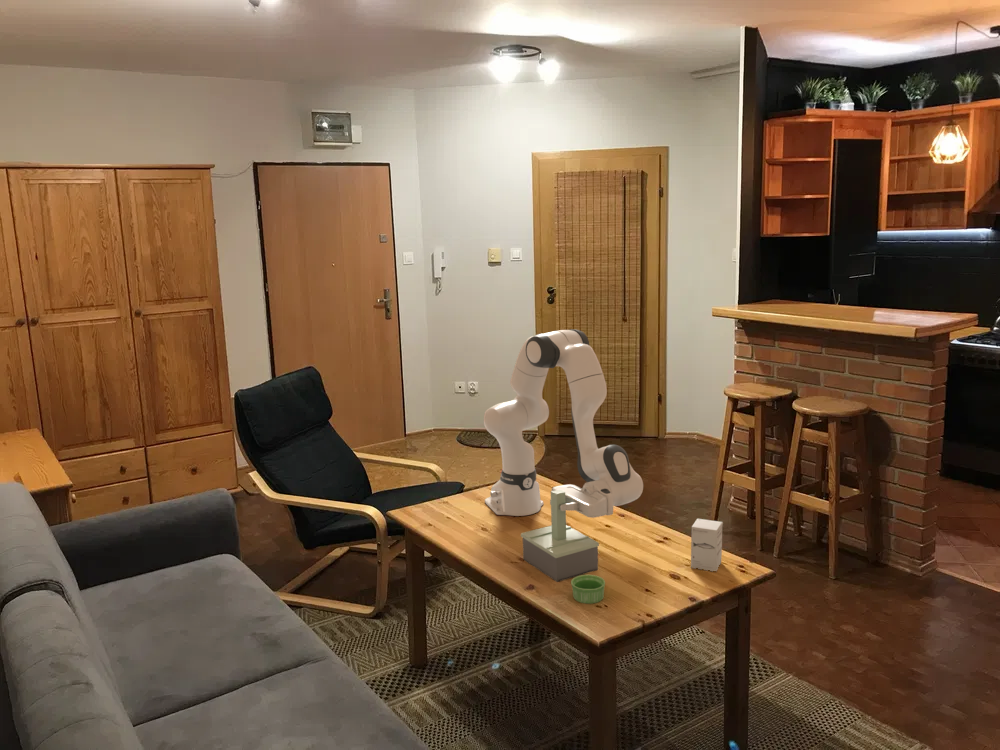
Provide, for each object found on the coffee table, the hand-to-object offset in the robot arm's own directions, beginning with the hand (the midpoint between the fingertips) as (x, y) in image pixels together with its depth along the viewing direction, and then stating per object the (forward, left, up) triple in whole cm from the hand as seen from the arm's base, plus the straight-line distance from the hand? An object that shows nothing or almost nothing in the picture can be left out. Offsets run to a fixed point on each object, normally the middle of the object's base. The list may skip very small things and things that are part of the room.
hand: (555, 505), depth 227 cm
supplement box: (+24, +35, -18) cm, 46 cm away
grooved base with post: (0, +1, -11) cm, 11 cm away
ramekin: (+21, -4, -18) cm, 28 cm away
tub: (0, +1, -18) cm, 18 cm away
